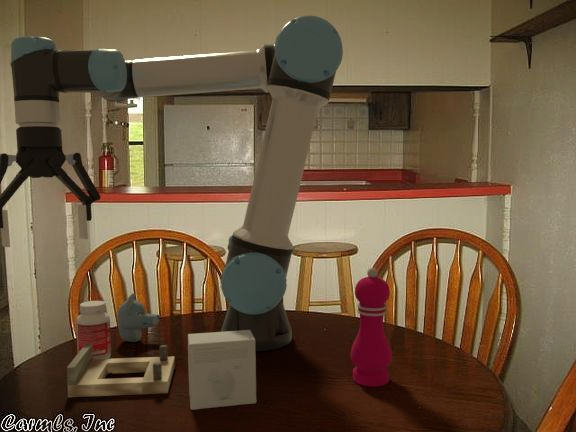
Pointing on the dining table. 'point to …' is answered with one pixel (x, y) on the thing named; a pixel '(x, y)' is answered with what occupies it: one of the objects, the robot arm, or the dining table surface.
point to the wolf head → (134, 319)
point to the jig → (91, 372)
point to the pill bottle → (94, 329)
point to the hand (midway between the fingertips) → (46, 242)
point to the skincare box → (221, 369)
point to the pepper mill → (371, 332)
